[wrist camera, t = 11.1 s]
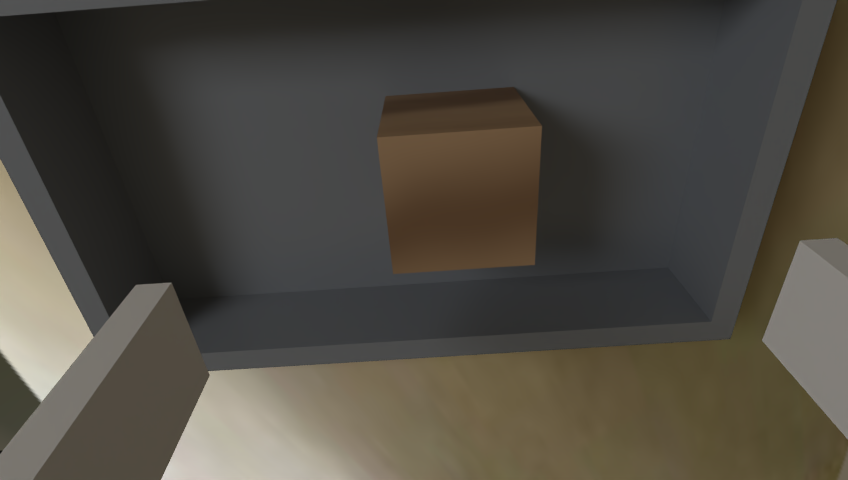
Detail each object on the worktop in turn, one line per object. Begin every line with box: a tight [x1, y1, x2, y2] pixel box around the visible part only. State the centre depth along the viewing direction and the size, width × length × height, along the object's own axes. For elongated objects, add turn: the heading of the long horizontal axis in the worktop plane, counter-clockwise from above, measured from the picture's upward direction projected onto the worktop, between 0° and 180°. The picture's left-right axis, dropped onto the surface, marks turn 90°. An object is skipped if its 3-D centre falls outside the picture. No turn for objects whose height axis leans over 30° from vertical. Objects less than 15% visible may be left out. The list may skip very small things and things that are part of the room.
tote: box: [0, 0, 837, 371], centre depth 19 cm, size 15×26×5 cm, turn 94°
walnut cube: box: [377, 87, 542, 274], centre depth 18 cm, size 5×5×5 cm
